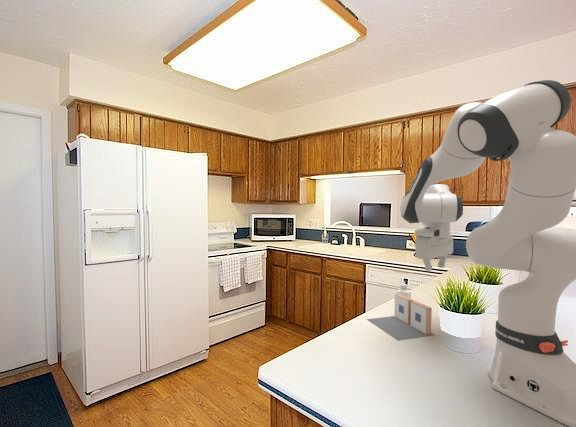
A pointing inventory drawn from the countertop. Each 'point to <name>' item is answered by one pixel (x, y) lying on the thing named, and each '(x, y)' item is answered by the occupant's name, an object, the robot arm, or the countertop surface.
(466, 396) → the countertop surface
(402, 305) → the tile
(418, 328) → the tile
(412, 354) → the countertop surface
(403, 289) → the eye dropper bottle
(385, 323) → the mat
